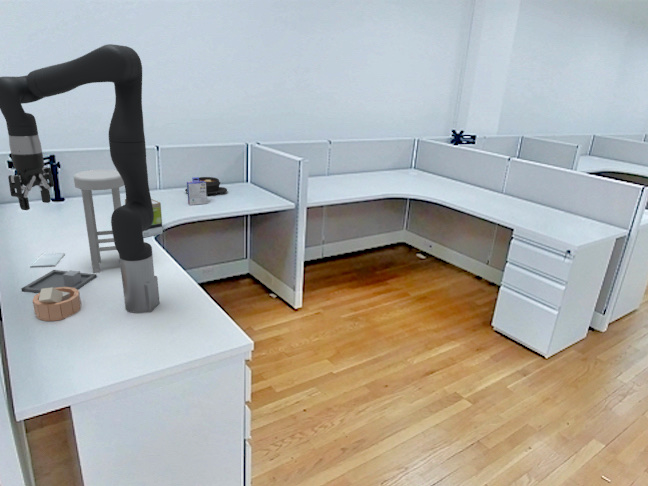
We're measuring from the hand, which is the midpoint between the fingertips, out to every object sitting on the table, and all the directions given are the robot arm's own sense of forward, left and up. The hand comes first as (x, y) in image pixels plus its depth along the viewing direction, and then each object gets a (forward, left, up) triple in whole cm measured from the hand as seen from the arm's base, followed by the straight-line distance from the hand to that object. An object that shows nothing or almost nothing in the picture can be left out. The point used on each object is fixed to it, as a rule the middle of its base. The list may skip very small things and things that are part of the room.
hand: (36, 205), depth 133 cm
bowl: (-8, +8, -30) cm, 32 cm away
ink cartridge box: (-1, -116, -30) cm, 120 cm away
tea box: (+3, -65, -30) cm, 72 cm away
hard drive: (+20, -24, -31) cm, 44 cm away
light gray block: (-2, -8, -30) cm, 31 cm away
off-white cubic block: (-9, +10, -25) cm, 28 cm away
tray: (+3, -8, -30) cm, 31 cm away
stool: (-4, -26, -30) cm, 40 cm away
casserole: (+3, -140, -30) cm, 143 cm away
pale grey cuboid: (-9, +7, -29) cm, 31 cm away
